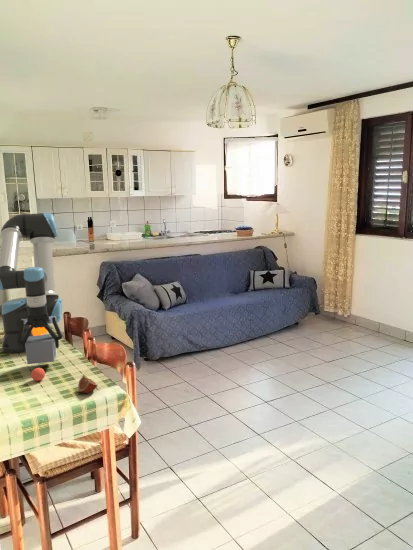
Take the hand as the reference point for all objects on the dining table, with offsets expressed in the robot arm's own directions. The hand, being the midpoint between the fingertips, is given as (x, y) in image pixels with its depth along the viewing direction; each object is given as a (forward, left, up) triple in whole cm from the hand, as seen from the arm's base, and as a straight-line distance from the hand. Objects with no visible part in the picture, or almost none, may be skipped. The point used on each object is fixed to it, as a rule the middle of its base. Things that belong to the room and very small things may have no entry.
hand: (42, 357), depth 187 cm
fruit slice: (+30, +19, -5) cm, 36 cm away
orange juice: (-51, -9, -5) cm, 52 cm away
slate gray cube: (0, 0, -1) cm, 1 cm away
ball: (+14, 0, -2) cm, 14 cm away
